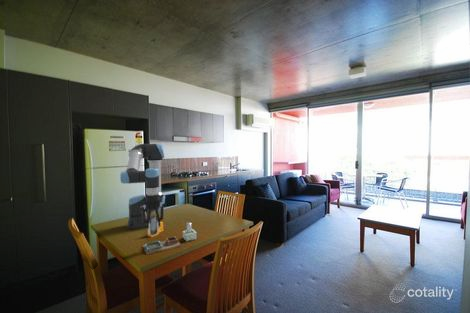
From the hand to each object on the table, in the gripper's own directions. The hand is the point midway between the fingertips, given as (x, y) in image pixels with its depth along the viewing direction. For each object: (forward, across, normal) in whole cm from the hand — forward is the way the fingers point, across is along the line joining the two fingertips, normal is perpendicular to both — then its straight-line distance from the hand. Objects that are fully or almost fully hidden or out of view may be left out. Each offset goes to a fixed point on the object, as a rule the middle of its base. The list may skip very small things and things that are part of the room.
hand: (153, 232), depth 125 cm
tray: (+10, +24, +2) cm, 26 cm away
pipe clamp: (+10, +6, +23) cm, 26 cm away
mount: (+10, +5, 0) cm, 11 cm away
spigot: (+1, 0, 0) cm, 1 cm away
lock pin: (+9, +23, +2) cm, 25 cm away
